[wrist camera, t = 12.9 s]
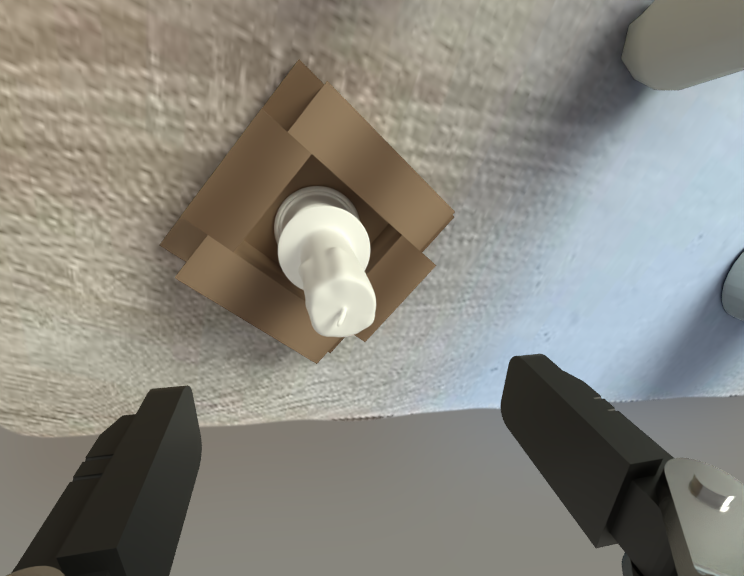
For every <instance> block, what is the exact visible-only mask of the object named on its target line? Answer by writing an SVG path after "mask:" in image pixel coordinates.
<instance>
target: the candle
mask: <svg viewBox="0 0 744 576" xmlns="http://www.w3.org/2000/svg"><path fill="white" fill-rule="evenodd" d="M274 234H275V239H276V242H277V245H278V259H279V263H280V266H281V268H282V270H283V272H284V274H285V275H286V276H287V278H288V279H289V280H290V281H291V282H292V283H293V284H294V285H296V286H297V287H299V288H300V289H302V290H304V294H305V304H306V309H307V311H308V313H309V316H310V320H311V324H312V326H313V328H314V330H315V331H316V332H317V333H319V334H320V335H322V336H326V337H348V336H352V335H354V334H357V333H359V332H360V331H362V330H364V329H366V328H367V327H369V326H370V325H371V324H372V323H373V321H374V318H375V310H376V297H375V293H374V290H373V288H372V285H371V283H370V281H369V279H368V277H367V275H366V273H365V272H364V271H365V269H366V267H367V265H368V262H369V258H370V241H369V237H368V234H367V232H366V230H365V228H364V226H363V225H362V224H361V222H360V219H359V215H358V213H357V210H356V209H355V207H354V205H353V204H352V202H351V201H350V200H349V199H348V198H347V197H346V196H345V195H343V194H342V193H340V192H339V191H337V190H334V189H332V188H329V187H324V186H310V187H305V188H302V189H300V190H298V191H296V192H294V193H292V194H291V195H290V196H289V197H287V198H286V199H285V200H284V202H283V203H282V204H281V206H280V207H279V209H278V211H277V214H276V217H275V222H274Z"/></svg>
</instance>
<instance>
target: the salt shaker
mask: <svg viewBox="0 0 744 576" xmlns="http://www.w3.org/2000/svg"><path fill="white" fill-rule="evenodd" d="M621 59H622V61H623V62H624V64H625V65H626V67H627V69H628V70H629V72H630V73H631V75H632V76H633V78H634V79H635V80H637V81H639V82H641V83H643V84H645V85H646V86H648V87H650V88H652V89H654V90H682V89H685V88H688V87H691V86H694V85H698V84H701V83H704V82H707V81H710V80H714V79H717V78H720V77H723V76H726V75H729V74H733V73H736V72H739V71H742V70H744V0H655V1H654V2H653V3H652V4H651V5H650V6H649V7H648V8H647V9H646V10H645V11H644V13H643V14H642V15H641V16H639V17H638V18H637V19H636V20H635V21H633V22H632V23H631V24H630V25H629V28H628V32H627V36H626V41H625V45H624V49H623V53H622V58H621Z"/></svg>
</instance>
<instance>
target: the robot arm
mask: <svg viewBox="0 0 744 576" xmlns="http://www.w3.org/2000/svg"><path fill="white" fill-rule="evenodd" d="M722 303H723V307H724V309H725V310H726V312H727V313H728V314H729V315H731V316H732V317H735V318H737V319H740V320H742V321H744V252H743V253H742V254H741V255H740V257H739V258H738V259H737V261H736V262H735V263H734V265H733V267H732V268H731V270H730V272H729V273H728V276H727V278H726V281H725V283H724V287H723V291H722ZM501 413H502V417H503V420H504V423H505V424H506V426H507V428H508V429H509V430H510V432H511V433H512V434H513V436H514V437H515V439H516V440H517V441H518V443H519V444H520V445H521V447H522V448H523V449H524V451H525V452H526V453H527V455H528V456H529V458H530V459H531V460H532V462H533V463H534V465H535V466H536V467H537V469H538V470H539V471H540V473H541V474H542V475H543V477H544V478H545V479H546V481H547V482H548V484H549V485H550V486H551V488H552V489H553V490H554V492H555V493H556V494H557V496H558V497H559V498H560V500H561V501H562V503H563V504H564V505H565V507H566V508H567V510H568V511H569V512H570V514H571V515H572V516H573V518H574V519H575V520H576V522H577V523H578V525H579V526H580V527H581V529H582V530H583V531H584V533H585V534H586V535H587V537H588V538H589V539H590V541H591V542H592V543H593V545H594V546H595V548H599V547H603V546H609V545H613V544H619V545H620V546H621V548H622V549H623V550H624V551H625V553H624V556H623V558H622V572H623V576H744V484H742V483H741V482H740V481H738V480H737V479H735V478H734V477H733V476H731V475H729V474H728V473H726V472H724V471H722V470H720V469H718V468H716V467H714V466H712V465H710V464H707V463H704V462H701V461H698V460H694V459H689V458H673V457H672V456H671V455H670V454H669V453H667V452H666V451H665V450H664V449H662V448H661V447H660V446H659V445H658V444H657V443H656V442H654V441H653V440H652V439H651V438H650V437H648V436H647V435H646V434H645V433H644V432H643V431H641V430H640V429H639V428H638V427H637V426H635V425H634V424H633V423H632V422H631V421H630V420H628V419H627V418H626V417H625V416H624V415H623V414H621V413H620V412H619V411H615V409H614V407H613V406H612V405H611V404H610V403H608V402H607V401H606V400H605V399H601V396H600V395H599V394H598V393H597V392H596V391H594V390H593V389H592V388H591V387H590V386H588V385H587V384H586V383H585V382H583V381H582V380H580V379H578V378H576V377H574V376H572V375H570V374H569V373H567V372H565V371H562V370H561V369H560V368H559V367H558V366H557V365H556V364H554V363H553V362H552V361H551V360H550V359H549V358H548V357H546V356H545V355H543V354H533V355H522V356H514V357H512V358H511V360H510V362H509V365H508V370H507V375H506V380H505V385H504V390H503V394H502V399H501ZM201 451H202V444H201V435H200V429H199V424H198V419H197V414H196V409H195V404H194V398H193V393H192V390H191V388H190V387H189V386H178V387H167V388H156V389H151V390H150V391H149V392H148V394H147V395H146V397H145V399H144V401H143V402H142V404H141V406H140V408H139V410H138V411H137V413H136V414H133V415H124V416H122V417H120V418H119V419H118V420H117V421H116V422H115V423H113V424H112V425H111V426H110V427H109V428H108V429H106V430H105V431H104V432H103V433H102V434H101V435H100V436H99V437H98V439H97V440H96V442H95V444H94V445H93V447H92V448H91V450H90V451H89V453H88V455H87V456H86V461H85V462H82V464H81V465H80V467H79V469H78V470H77V472H76V473H75V475H74V476H73V481H72V482H70V483H69V484H68V486H67V488H66V489H65V491H64V492H63V494H62V495H61V497H60V498H59V500H58V501H57V503H56V505H55V506H54V508H53V509H52V511H51V513H50V514H49V516H48V517H47V519H46V520H45V522H44V523H43V525H42V527H41V528H40V530H39V532H38V533H37V534H36V536H35V538H34V539H33V541H32V542H31V544H30V546H29V547H28V549H27V550H26V552H25V553H24V555H23V556H22V558H21V559H20V561H19V563H18V564H17V566H16V567H15V568H14V570H13V572H12V573H11V574H9V575H6V576H169V574H170V570H171V567H172V563H173V560H174V556H175V552H176V549H177V545H178V542H179V538H180V535H181V531H182V527H183V523H184V520H185V517H186V513H187V509H188V506H189V502H190V498H191V494H192V491H193V488H194V484H195V480H196V477H197V473H198V470H199V466H200V461H201Z"/></svg>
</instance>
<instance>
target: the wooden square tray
mask: <svg viewBox="0 0 744 576" xmlns="http://www.w3.org/2000/svg"><path fill="white" fill-rule="evenodd" d="M310 186H324V187H329V188H332V189H334V190H337V191H339V192H340V193H342V194H343V195H345V196H346V197H347V198H348V199H349V200H350V201H351V202H352V204H353V205H354V207H355V209H356V210H357V213H358V215H359V219H360V222H361V224H362V225H363V226H364V228H365V230H366V232H367V234H368V237H369V241H370V258H369V262H368V265H367V267H366V269H365V271H364V272H365V273H366V275H367V277H368V279H369V281H370V283H371V285H372V288H373V290H374V293H375V297H376V310H375V318H374V321H373V323H372V324H371V325H370V326H369V327H367V328H366V329H364V330H362V331H360V332H359V333H357V334H354V335H355V336H357V337H358V338H360V339H361V340H363V341H364V342H366V341H367V339H368V338H369V337H370V336H371V335H372V334H373V333H374V332H375V331H376V330H377V329H378V328H379V327H380V325H381V324H382V323H383V322H384V321H385V320H386V319H387V318H388V317H389V316H390V315H391V314H392V313H393V311H394V310H395V309H396V308H397V307H398V306H399V305H400V304H401V303H402V302H403V301H404V300H405V299H406V297H407V296H408V295H409V294H410V293H411V292H412V291H413V290H414V289H415V288H416V287H417V286H418V284H419V283H420V282H421V281H422V280H423V279H424V278H425V277H426V276H427V275H428V274H429V273H430V272H431V270H432V269H433V268H434V267H435V266H436V265H435V264H434V263H433V262H432V261H431V260H430V259H428V258H427V257H426V256H425V255H424V254H423V253H422V252H423V251H424V250H425V249H426V248H427V247H428V245H429V244H430V243H431V242H432V241H433V240H434V239H435V238H436V237H437V236H438V235H439V233H440V232H441V231H442V230H443V229H444V228H445V227H446V226H447V225H448V224H449V222H450V221H451V220H452V219H453V218H454V216H453V214H454V212H455V211H454V210H453V209H452V208H451V207H450V206H449V205H448V204H447V203H446V202H445V201H444V200H443V199H442V198H441V197H440V196H439V195H438V194H437V193H436V192H435V191H434V190H433V189H432V188H431V187H430V186H429V185H428V184H427V183H426V182H425V181H424V180H423V179H422V178H421V177H420V176H419V175H418V174H417V173H416V171H415V170H414V169H413V168H412V167H411V166H410V165H409V164H408V163H407V162H406V161H405V160H404V159H403V158H402V157H401V156H400V155H399V154H398V153H397V152H396V151H395V150H394V149H393V148H392V147H391V146H390V145H389V144H388V143H387V142H386V141H385V140H384V139H383V138H382V137H381V136H380V135H379V134H378V133H377V132H376V131H375V129H374V128H373V127H372V126H371V125H370V124H369V123H368V122H367V121H366V120H365V119H364V118H363V117H362V116H361V115H360V114H359V113H358V112H357V111H356V110H355V109H354V108H353V107H352V106H351V105H350V104H349V103H348V102H347V101H346V100H345V99H344V98H343V97H342V96H341V95H340V94H339V93H338V92H337V91H336V90H335V89H334V87H333V86H332V85H331V84H330V83H329V82H328V81H327V82H326V83H325V84H323V83H322V82H321V81H320V80H319V79H318V78H317V77H316V76H315V75H314V74H313V73H312V72H311V71H310V70H309V69H308V68H307V67H306V66H305V65H304V64H303V63H302V62H301V61H300V60H298V61H297V62H296V64H295V65H294V66H293V68H292V69H291V70H290V72H289V73H288V74H287V76H286V77H285V78H284V80H283V81H282V82H281V84H280V85H279V86H278V88H277V89H276V90H275V92H274V93H273V94H272V96H271V97H270V98H269V100H268V101H267V102H266V104H265V105H264V106H263V108H262V109H261V110H260V111H259V113H258V114H257V115H256V117H255V118H254V119H253V121H252V122H251V123H250V125H249V126H248V127H247V129H246V130H245V131H244V132H243V134H242V135H241V136H240V138H239V139H238V140H237V142H236V143H235V144H234V146H233V147H232V148H231V150H230V151H229V152H228V154H227V155H226V156H225V158H224V159H223V160H222V162H221V163H220V164H219V166H218V167H217V168H216V170H215V171H214V172H213V174H212V175H211V176H210V178H209V179H208V180H207V182H206V183H205V184H204V186H203V187H202V188H201V190H200V191H199V192H198V194H197V195H196V196H195V198H194V199H193V200H192V202H191V203H190V204H189V206H188V207H187V208H186V210H185V211H184V212H183V214H182V215H181V217H180V218H179V220H178V221H177V222H176V224H175V225H174V226H173V228H172V229H171V230H170V232H169V233H168V234H167V236H166V237H165V238H164V240H163V241H162V242H161V244H160V246H161V247H163V248H165V249H166V250H168V251H169V252H171V253H173V254H174V255H176V256H177V257H179V258H180V259H182V260H184V261H185V262H186V263H185V265H184V266H183V267H182V269H181V270H180V271H179V273H178V274H177V275H176V277H175V278H176V279H177V280H179V281H180V282H182V283H184V284H185V285H187V286H189V287H190V288H192V289H194V290H195V291H197V292H199V293H200V294H202V295H204V296H205V297H207V298H209V299H210V300H212V301H214V302H215V303H217V304H219V305H220V306H222V307H224V308H225V309H227V310H228V311H230V312H232V313H233V314H235V315H237V316H238V317H240V318H242V319H243V320H245V321H247V322H248V323H250V324H252V325H253V326H255V327H257V328H258V329H260V330H262V331H263V332H265V333H267V334H268V335H270V336H272V337H273V338H275V339H277V340H278V341H280V342H281V343H283V344H285V345H286V346H288V347H290V348H291V349H293V350H295V351H296V352H298V353H300V354H301V355H303V356H305V357H306V358H308V359H310V360H311V361H313V362H315V363H316V364H317V363H318V362H319V361H320V360H321V359H322V358H323V357H324V355H325V354H326V353H327V352H329V353H331V352H332V351H333V350H334V349H335V347H336V346H337V345H338V344H339V343H340V342H341V341H342V340H343V339H344V338H345V337H326V336H322V335H320V334H319V333H317V332H316V331H315V330H314V328H313V326H312V324H311V320H310V316H309V313H308V311H307V309H306V304H305V294H304V290H302V289H300V288H299V287H297V286H296V285H294V284H293V283H292V282H291V281H290V280H289V279H288V278H287V276H286V275H285V274H284V272H283V270H282V268H281V266H280V263H279V259H278V245H277V242H276V239H275V234H274V222H275V217H276V214H277V211H278V209H279V207H280V206H281V204H282V203H283V202H284V200H285V199H286V198H287V197H289V196H290V195H291V194H292V193H294V192H296V191H298V190H300V189H302V188H305V187H310Z"/></svg>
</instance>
